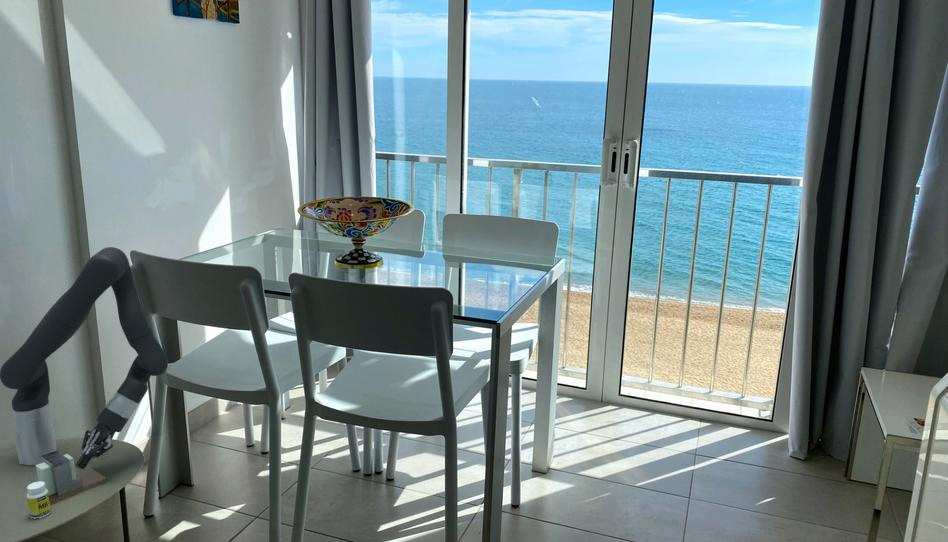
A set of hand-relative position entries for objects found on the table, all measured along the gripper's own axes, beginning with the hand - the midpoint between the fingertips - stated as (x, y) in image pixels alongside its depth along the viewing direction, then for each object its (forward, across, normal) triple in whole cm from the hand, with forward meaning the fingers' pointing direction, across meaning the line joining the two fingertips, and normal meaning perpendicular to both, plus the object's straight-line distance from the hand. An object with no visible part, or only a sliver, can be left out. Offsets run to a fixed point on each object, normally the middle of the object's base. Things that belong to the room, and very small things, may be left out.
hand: (79, 467), depth 197 cm
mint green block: (+7, 0, -2) cm, 7 cm away
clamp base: (+6, 0, +1) cm, 6 cm away
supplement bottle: (+13, +7, -6) cm, 16 cm away
